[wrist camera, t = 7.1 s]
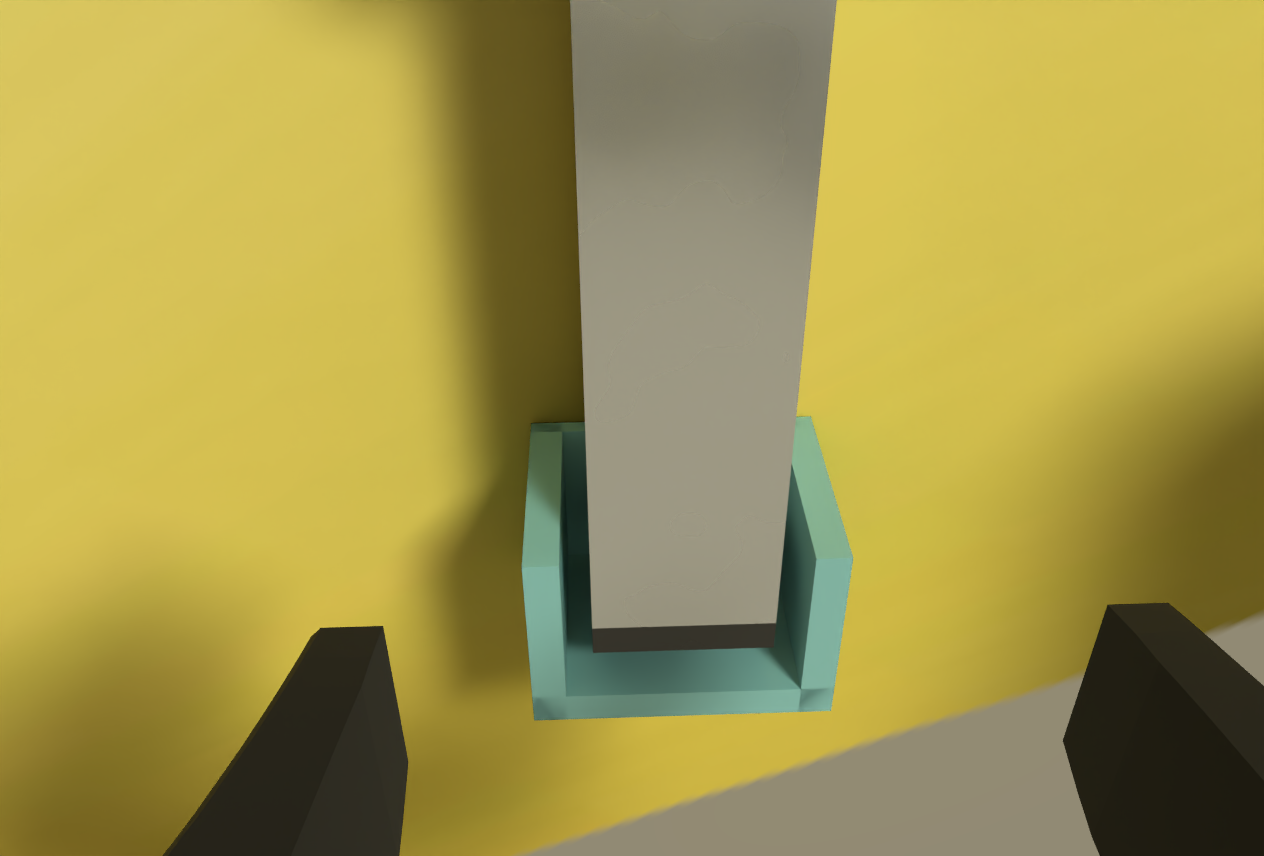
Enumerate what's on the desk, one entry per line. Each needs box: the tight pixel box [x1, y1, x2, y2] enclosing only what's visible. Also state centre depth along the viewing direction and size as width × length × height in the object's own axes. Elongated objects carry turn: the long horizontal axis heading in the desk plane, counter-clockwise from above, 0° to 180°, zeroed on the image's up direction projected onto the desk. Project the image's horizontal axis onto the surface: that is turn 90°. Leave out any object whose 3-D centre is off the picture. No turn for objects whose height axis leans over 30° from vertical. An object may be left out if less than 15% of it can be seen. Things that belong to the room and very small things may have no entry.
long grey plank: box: [570, 0, 837, 653], centre depth 17 cm, size 3×14×3 cm, turn 0°
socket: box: [522, 417, 853, 720], centre depth 21 cm, size 5×4×4 cm
